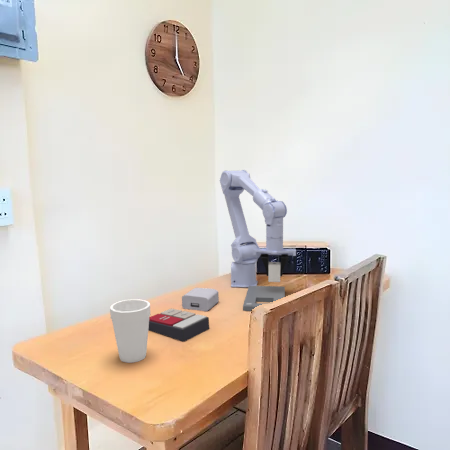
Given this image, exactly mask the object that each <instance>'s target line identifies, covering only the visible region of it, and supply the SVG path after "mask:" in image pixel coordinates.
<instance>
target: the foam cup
mask: <svg viewBox="0 0 450 450" xmlns="http://www.w3.org/2000/svg"><path fill="white" fill-rule="evenodd" d="M109 308H110V309H109V313H110V319H111V321H112V328H113V332H114V338H115V341H116V343H115V344H116V347H117V350H118V351H117V352H118V357H119V360H120V361H121V362H123V363H127V364H128V363H131V364H133V363H137V362H140V361H142V360H144V359H145V358H146V357H147V350H148V337H149V330H148V328H149V317H151V303H150V301H147V300H145V299H139V298H132V299H131V298H129V299H123V300H119V301H117V302H114V303H113V304H111V305H110V307H109Z"/></svg>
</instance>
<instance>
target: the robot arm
mask: <svg viewBox="0 0 450 450" xmlns="http://www.w3.org/2000/svg"><path fill="white" fill-rule="evenodd" d="M219 183H220V187H221V190H222V194H223V195H224V199H225V202H226V206H227V209H228V210H227V211H228V214H229V217H230V223H231V226H232V229H233V233H234V238H235V239H234V240H233V241H232V243H231V245H230V246H231V257H232V259H233V260H234V261H231V266H230V282H231V283H230V287H231V288H248V287H249V286H258V283H259V281H258V280H257V267H256V266H257V262H258V259H259V258H260V260H261V261H262V263H263V265H264V269H265V273H266V276H267V277H268V265H269V258H270V257H269V256H280V277H283V272H284V269H285V267H286V264H287V262H288V259H289V256H293V257H296V256H297V249H295V248H293V249H292V248H284V218H285V217H286V216H287V213H288V208H287V205H286V203H285V202H284V201H283V200H277V199H276V198H275V197H274V196H272V195H271V194H270V193H269V191H268V190H267V189H266V188H265V189H264V188H261V189H260V188H259V187H258V186H257V184H256V183H255V182H254V181H253V179H251V175H250V173H249V172H248V171H247V170H245V169H241V170H240V169H239V170H223V171H222V172H221V175H220V178H219ZM244 191H245V192H247V193H248V194H249V195H250V196H252V201H253V202H254V203H255V205H256V206H257V207H258V208H260V209H261V211H262V215H263V218H264V223H265V224H266V225H265V228H266V229H265V233H266V235H265V237H266V238H265V244H266V246H265V247H264V248H263V247H262V248H260V246H259V244H258V243H257V239H256V238H255V237H253V236H252V235H250V234H249V233H250V232H249V229H248V226H247V221H246V218H245V214H244V211H243V210H244V209H243V207H242V202H241V199H240V195H241V194H243V192H244Z"/></svg>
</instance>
